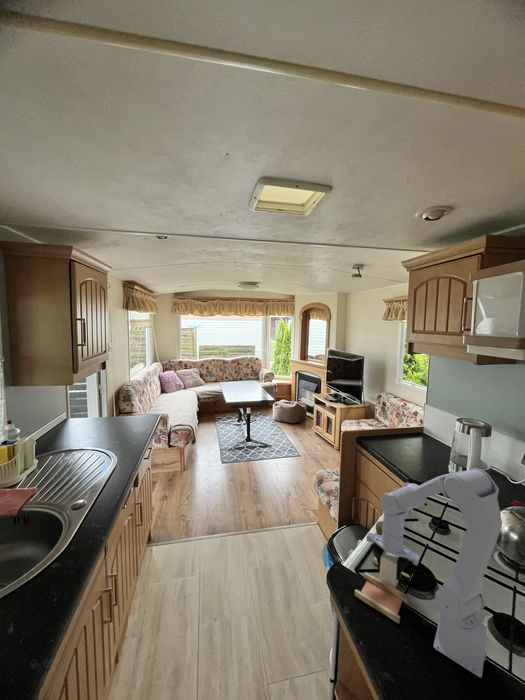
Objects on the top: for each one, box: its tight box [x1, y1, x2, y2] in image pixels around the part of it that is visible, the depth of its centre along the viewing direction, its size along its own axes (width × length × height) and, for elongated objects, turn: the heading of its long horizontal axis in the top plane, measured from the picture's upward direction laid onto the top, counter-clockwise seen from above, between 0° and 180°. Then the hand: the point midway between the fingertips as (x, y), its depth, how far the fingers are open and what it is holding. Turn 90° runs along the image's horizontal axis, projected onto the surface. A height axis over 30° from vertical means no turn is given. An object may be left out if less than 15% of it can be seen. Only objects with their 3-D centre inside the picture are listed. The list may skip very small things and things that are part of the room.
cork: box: [372, 520, 383, 558], centre depth 100 cm, size 6×6×11 cm
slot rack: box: [353, 556, 411, 625], centre depth 87 cm, size 12×16×2 cm
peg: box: [378, 550, 400, 589], centre depth 90 cm, size 4×4×8 cm
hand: (389, 573), depth 90 cm, fingers closed on peg, 4 cm apart
